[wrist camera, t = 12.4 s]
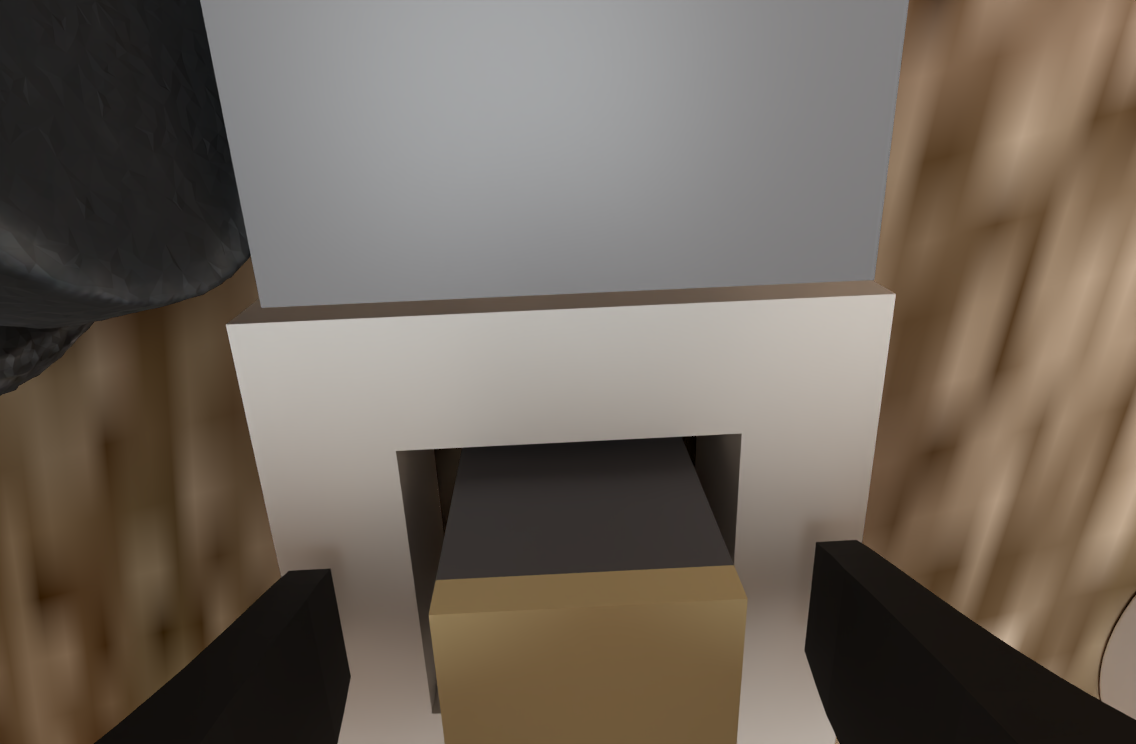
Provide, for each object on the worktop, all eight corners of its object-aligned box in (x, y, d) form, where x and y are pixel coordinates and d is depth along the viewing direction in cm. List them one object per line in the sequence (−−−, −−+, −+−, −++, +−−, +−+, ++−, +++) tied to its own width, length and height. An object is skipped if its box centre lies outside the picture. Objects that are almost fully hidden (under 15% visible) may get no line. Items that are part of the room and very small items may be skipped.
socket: (779, 653, 16) (830, 773, 13) (367, 677, 16) (331, 805, 13) (816, 247, 13) (895, 293, 10) (294, 270, 12) (226, 325, 10)
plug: (658, 544, 15) (730, 820, 9) (486, 552, 15) (456, 837, 9) (661, 386, 14) (747, 598, 8) (472, 395, 14) (428, 614, 8)
